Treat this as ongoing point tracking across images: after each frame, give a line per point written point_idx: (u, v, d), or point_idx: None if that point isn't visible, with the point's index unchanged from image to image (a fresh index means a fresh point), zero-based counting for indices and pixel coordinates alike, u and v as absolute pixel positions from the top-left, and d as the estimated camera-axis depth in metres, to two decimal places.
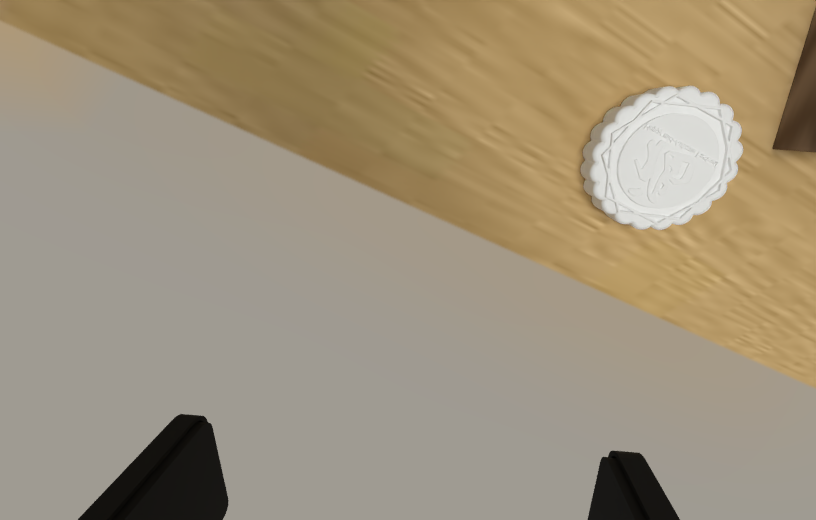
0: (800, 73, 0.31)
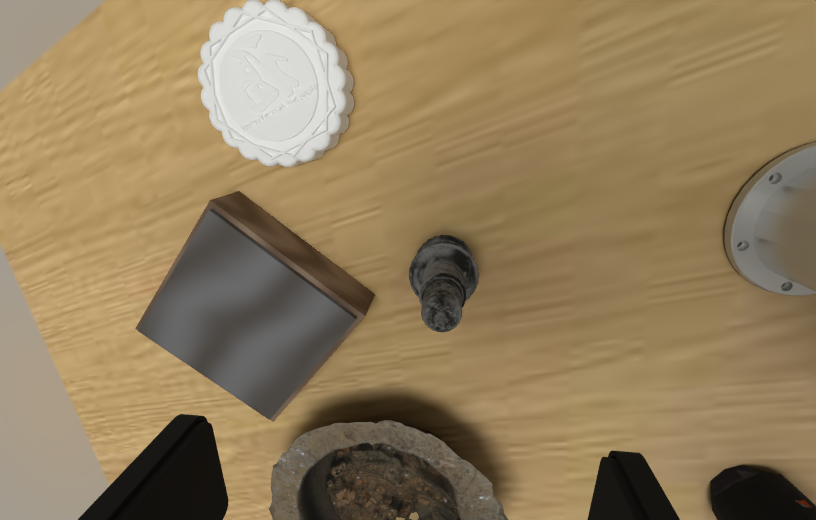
0: (289, 232, 0.36)
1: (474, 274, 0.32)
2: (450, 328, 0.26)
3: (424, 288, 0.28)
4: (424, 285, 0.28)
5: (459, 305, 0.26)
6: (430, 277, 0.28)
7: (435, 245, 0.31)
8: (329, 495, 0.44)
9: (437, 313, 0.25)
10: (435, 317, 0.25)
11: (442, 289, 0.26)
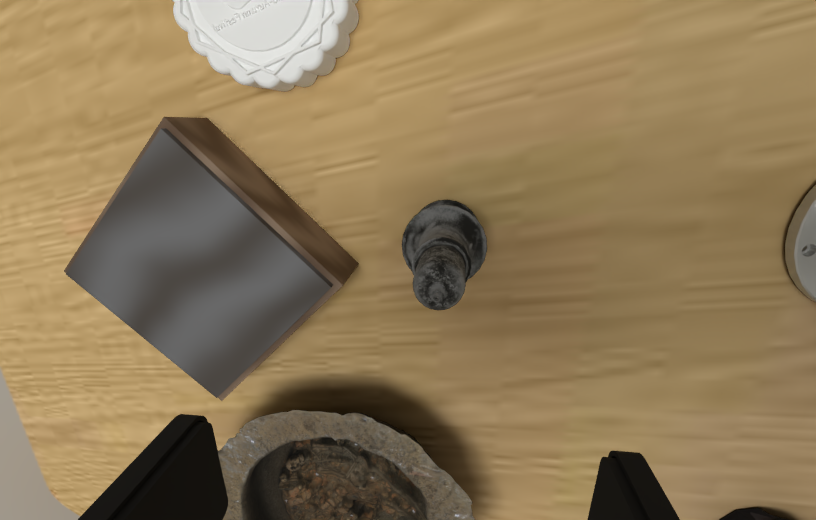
0: (263, 175, 0.29)
1: (481, 248, 0.26)
2: (448, 306, 0.20)
3: (419, 254, 0.22)
4: (420, 250, 0.22)
5: (463, 277, 0.20)
6: (429, 241, 0.22)
7: (438, 206, 0.25)
8: (281, 491, 0.39)
9: (433, 284, 0.19)
10: (431, 288, 0.19)
11: (443, 255, 0.20)
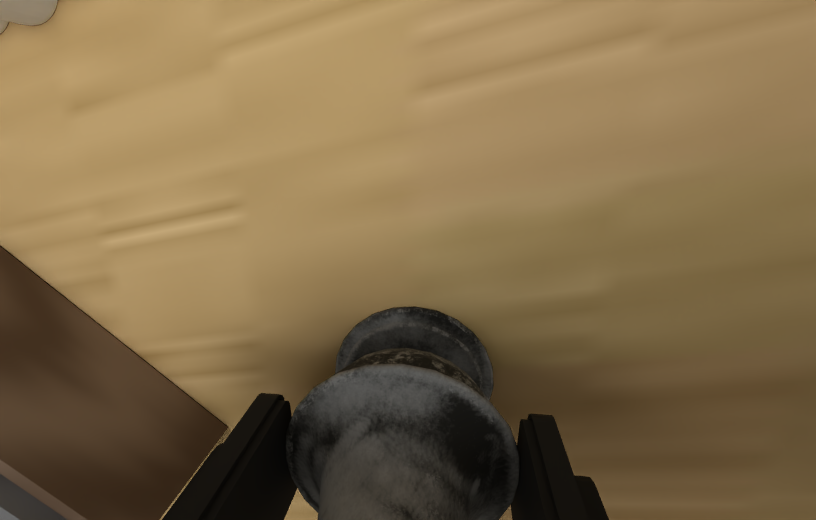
0: None
1: (506, 478, 0.09)
2: None
3: None
4: None
5: None
6: None
7: (379, 370, 0.08)
8: None
9: None
10: None
11: None
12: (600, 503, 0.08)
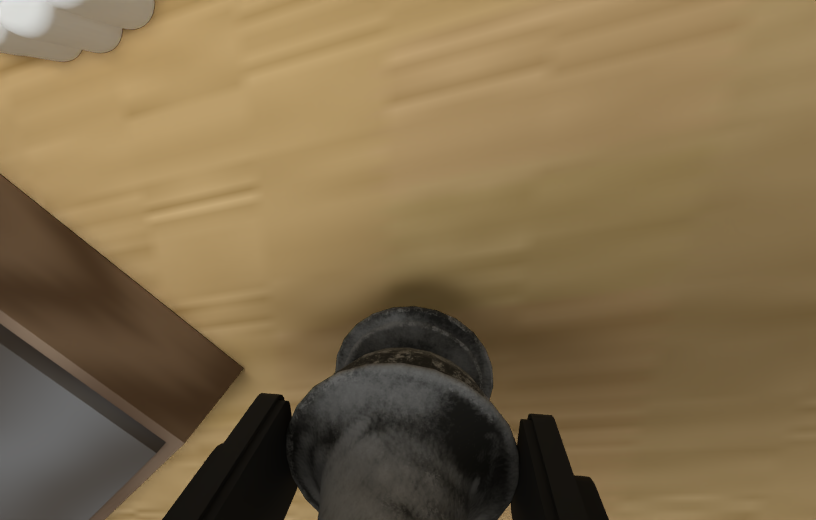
0: (47, 222, 0.16)
1: (505, 477, 0.09)
2: None
3: None
4: None
5: None
6: None
7: (379, 369, 0.09)
8: None
9: None
10: None
11: None
12: (600, 503, 0.08)
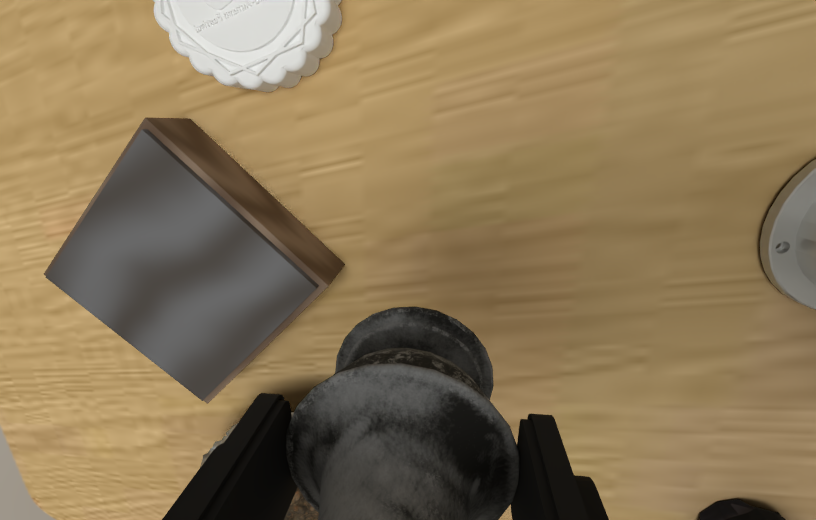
0: (248, 176, 0.29)
1: (506, 478, 0.09)
2: None
3: None
4: None
5: None
6: None
7: (379, 370, 0.09)
8: None
9: None
10: None
11: None
12: (600, 503, 0.08)
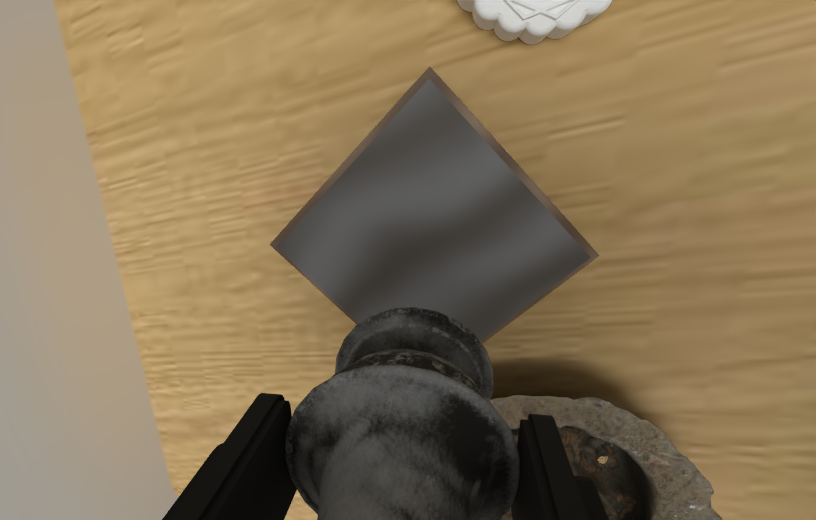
0: None
1: (506, 480, 0.09)
2: None
3: None
4: None
5: None
6: None
7: (378, 371, 0.08)
8: None
9: None
10: None
11: None
12: (600, 502, 0.08)
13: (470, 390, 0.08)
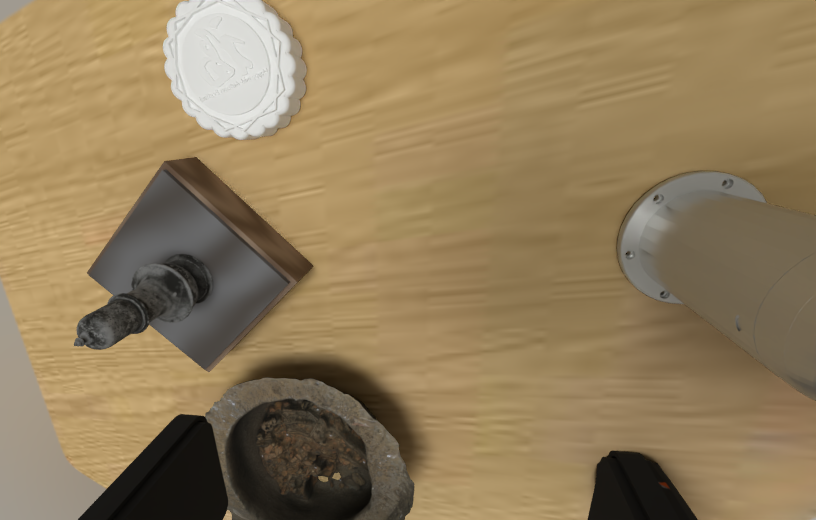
0: (239, 200, 0.39)
1: (187, 295, 0.34)
2: (101, 347, 0.28)
3: None
4: (109, 303, 0.30)
5: (110, 327, 0.28)
6: (113, 296, 0.30)
7: (150, 264, 0.33)
8: (258, 448, 0.48)
9: (81, 333, 0.27)
10: (80, 335, 0.27)
11: (103, 309, 0.28)
12: None
13: (173, 269, 0.33)
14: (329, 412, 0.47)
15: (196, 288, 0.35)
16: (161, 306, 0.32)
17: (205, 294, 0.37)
